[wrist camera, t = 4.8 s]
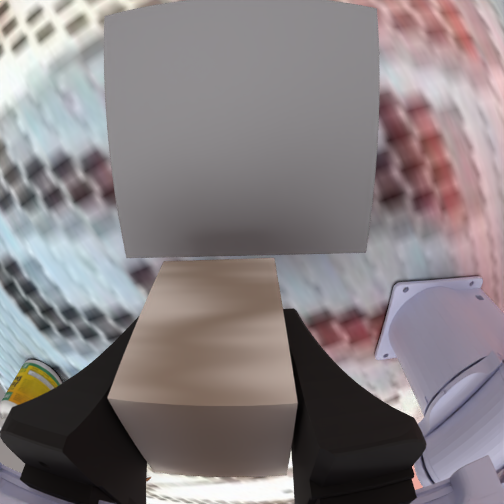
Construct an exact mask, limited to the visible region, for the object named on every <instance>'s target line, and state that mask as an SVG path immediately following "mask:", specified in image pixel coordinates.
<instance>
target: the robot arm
mask: <svg viewBox="0 0 504 504" xmlns="http://www.w3.org/2000/svg"><path fill="white" fill-rule="evenodd" d="M470 282H471V283H470ZM482 283H483V279H482V278H481V277H480V276H474V277H463V278H451V279H439V280H425V281H411V282H399V283H397V284H395V285H394V287H393V291H392V295H391V299H390V303H389V307H388V310H387V314H386V318H385V321H384V325H383V329H382V332H381V336H380V339H379V342H378V346H377V349H376V352H375V358H376V359H377V360H383V359H390V358H398V360H399V362H400V365H401V367H402V369H403V371H404V373H405V375H406V377H407V379H408V382H409V384H410V386H411V388H412V390H413V392H414V395H415V397H416V399H417V401H418V404H419V406H420V408H421V410H422V413H423V415H424V418H423V420H422V421H421V422H420V423H418V424H417V422H416V420H415V419H414V418H413V417H411V416H409V415H407V414H405V413H403V412H401V411H399V410H397V409H395V408H393V407H391V406H390V405H388V404H386V403H385V402H383V401H381V400H380V399H378V398H377V397H375V396H374V395H372V394H371V393H370V392H368V391H367V390H365V389H364V388H363V387H361V386H360V385H359V384H358V383H356V382H355V381H354V380H353V379H352V378H351V377H349V376H348V375H347V374H346V373H345V372H344V371H343V370H342V369H341V368H340V367H339V366H338V365H337V364H336V363H335V362H334V361H333V360H332V359H331V358H330V357H329V355H328V354H327V353H326V352H325V351H324V350H323V348H322V347H321V346H320V345H319V343H318V342H317V341H316V340H315V338H314V337H313V336H312V334H311V333H310V332H309V330H308V329H307V327H306V326H305V324H304V323H303V321H302V319H301V318H300V316H299V314H298V313H297V311H296V310H295V309H283V313H284V319H285V325H286V331H287V337H288V344H289V350H290V356H291V363H292V369H293V376H294V382H295V389H296V395H297V402H298V404H297V412H296V419H295V426H294V432H293V439H292V445H291V451H292V464H293V480H294V498H295V504H504V313H503V312H502V311H501V310H500V309H499V308H498V306H497V305H496V304H495V303H494V302H493V301H492V300H491V299H490V298H489V297H488V296H487V295H486V294H485V292H484V291H483V290H482V289H481V286H482ZM405 287H406V289H405V290H403V289H404V288H405ZM138 319H139V317H138V318H137V319H136V320H135V321H134V322H133V323H132V324H131V325H130V326H129V327H128V328H127V329H126V330H125V332H124V333H123V334H122V335H121V336H120V337H119V338H118V339H117V340H116V341H115V342H114V343H113V344H112V345H110V346H109V347H108V348H107V349H106V350H105V351H104V352H103V353H102V354H101V355H100V356H99V357H98V358H96V359H95V360H94V361H93V362H92V363H90V364H89V365H88V366H87V367H85V368H84V369H83V370H81V371H80V372H79V373H77V374H76V375H74V376H73V377H71V378H70V379H68V380H67V381H65V382H64V383H62V384H60V385H59V386H57V387H56V388H54V389H52V390H50V391H48V392H46V393H44V394H42V395H40V396H38V397H36V398H34V399H32V400H29V401H27V402H24V403H22V404H19V405H16V406H14V407H12V408H11V410H10V412H9V414H8V416H7V418H6V420H5V422H4V424H3V426H2V428H1V430H0V437H1V439H2V440H3V442H4V443H5V444H6V446H7V447H8V448H9V449H10V450H11V451H12V452H14V453H15V454H16V455H17V456H18V457H19V458H20V459H21V460H22V461H23V462H24V463H25V467H24V469H23V472H22V473H20V472H17V471H15V470H13V469H11V468H9V467H6V466H4V465H2V464H1V462H0V504H146V472H147V461H146V460H145V458H144V457H143V455H142V454H141V452H140V451H139V450H138V448H137V446H136V445H135V443H134V442H133V440H132V439H131V437H130V436H129V434H128V432H127V431H126V429H125V428H124V426H123V424H122V423H121V421H120V419H119V418H118V416H117V414H116V413H115V411H114V409H113V407H112V406H111V404H110V402H109V400H108V395H109V392H110V390H111V387H112V384H113V381H114V379H115V376H116V374H117V371H118V368H119V366H120V363H121V360H122V358H123V355H124V353H125V350H126V348H127V345H128V343H129V340H130V338H131V335H132V333H133V331H134V328H135V326H136V323H137V321H138ZM413 465H414V467H415V471H416V475H417V477H418V479H419V481H420V483H421V485H422V486H423V488H420V489H418V490H415V489H414V486H413V483H412V478H413V477H414V472H413V469H412V466H413Z"/></svg>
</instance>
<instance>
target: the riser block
mask: <svg viewBox="0 0 504 504" xmlns="http://www.w3.org/2000/svg"><path fill="white" fill-rule="evenodd" d="M104 79H105V102H106V117H107V130H108V141H109V151H110V160H111V168H112V176H113V183H114V190H115V197H116V203H117V210H118V216H119V221H120V227H121V233H122V238H123V243H124V248H125V253H126V258H152V257H200V256H245V255H288V254H329V253H366V248H367V241H368V234H369V227H370V219H371V211H372V202H373V192H374V182H375V171H376V158H377V143H378V123H379V38H378V20H377V8H372V7H367V6H362V5H356V4H350V3H343V2H336V1H328V0H186V1H178V2H171V3H165V4H158V5H153V6H147V7H142V8H137V9H133V10H128V11H124V12H120V13H115V14H111V15H108V16H105V23H104Z"/></svg>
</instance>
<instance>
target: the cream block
mask: <svg viewBox="0 0 504 504" xmlns="http://www.w3.org/2000/svg"><path fill="white" fill-rule="evenodd" d="M108 400H109V402H110V404H111V406H112V407H113V409H114V411H115V413H116V414H117V416H118V418H119V419H120V421H121V423H122V424H123V426H124V428H125V429H126V431H127V432H128V434H129V436H130V437H131V439H132V440H133V442H134V443H135V445H136V446H137V448H138V450H139V451H140V452H141V454H142V455H143V457H144V458H145V460H146V461H147V463H148V464H149V466H150V467H151V468H152V470H153V471H154V472H158V473H167V474H177V475H190V476H207V477H265V476H282V475H287V470H288V464H289V458H290V452H291V445H292V439H293V432H294V426H295V419H296V412H297V404H298V402H297V395H296V389H295V382H294V376H293V369H292V363H291V356H290V350H289V344H288V337H287V331H286V325H285V319H284V313H283V307H282V301H281V295H280V289H279V283H278V277H277V271H276V265H275V259H274V258H255V259H225V260H193V261H164V262H163V264H162V266H161V269H160V271H159V273H158V275H157V277H156V280H155V282H154V284H153V286H152V289H151V291H150V293H149V295H148V298H147V300H146V302H145V305H144V307H143V309H142V311H141V314H140V316H139V319H138V321H137V323H136V326H135V328H134V331H133V333H132V335H131V338H130V340H129V343H128V345H127V348H126V350H125V353H124V355H123V358H122V360H121V363H120V366H119V368H118V371H117V374H116V376H115V379H114V381H113V384H112V387H111V390H110V392H109V395H108Z"/></svg>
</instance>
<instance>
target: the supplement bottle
mask: <svg viewBox="0 0 504 504" xmlns="http://www.w3.org/2000/svg"><path fill="white" fill-rule="evenodd" d="M60 384H62V381H61V380H60V378H59V376H58V375H57V374H56V372H55V371H54V370H53V369H51V368H50V367H49V366H47V365H46V364H44V363H42V362H40V361H37V360H27V361H26V362H25V363H24V364H23V366H22V368H21V369H20V371H19V373H18V374H17V376H16V377H15V379H14V381H13V382H12V384H11V386H10V387H9V389H8V391H7V393H6V394H5V396H4V398H3V400H2V401H1V404H0V412H1V414H2V416H3V418H0V430H1V428H2V426H3V424H4V422H5V420H6V418H7V416H8V414H9V412H10V410H11V408H12V407H14V406H16V405H19V404H22V403H24V402H27V401H29V400H32V399H34V398H36V397H38V396H40V395H42V394H44V393H46V392H48V391H50V390H52V389H54V388H56V387H57V386H59V385H60Z"/></svg>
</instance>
